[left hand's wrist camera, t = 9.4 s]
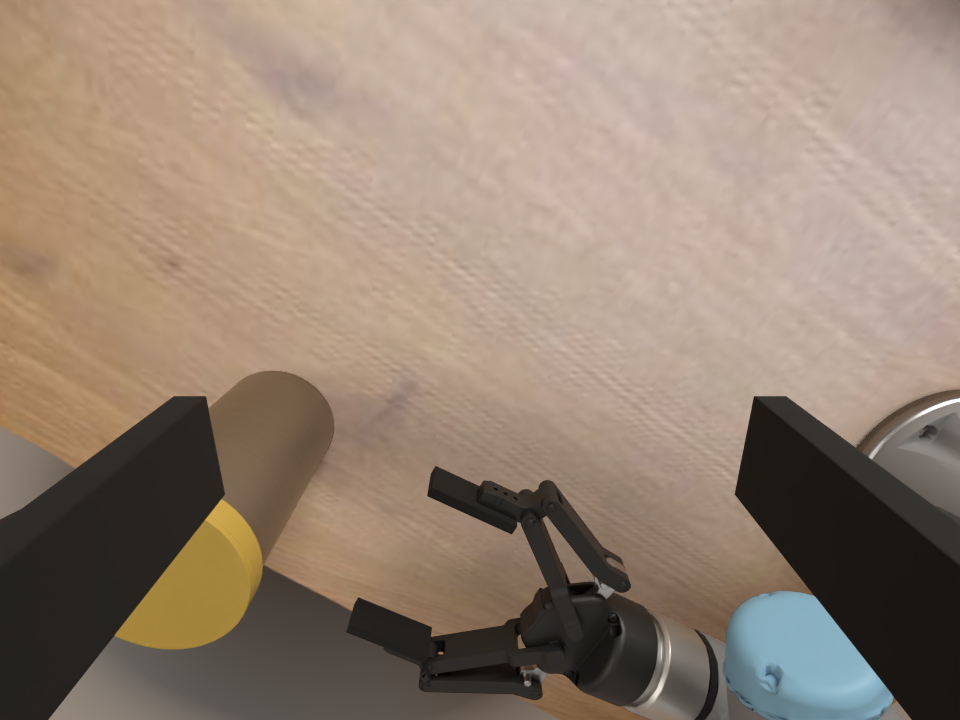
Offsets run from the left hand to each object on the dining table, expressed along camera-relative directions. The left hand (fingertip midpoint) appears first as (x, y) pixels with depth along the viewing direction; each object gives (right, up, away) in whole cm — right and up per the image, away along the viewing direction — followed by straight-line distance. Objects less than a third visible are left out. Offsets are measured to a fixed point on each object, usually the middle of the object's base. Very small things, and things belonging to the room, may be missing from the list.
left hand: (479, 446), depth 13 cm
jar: (-16, -3, +29) cm, 34 cm away
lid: (-16, -9, +13) cm, 23 cm away
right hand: (-7, -12, +25) cm, 29 cm away
